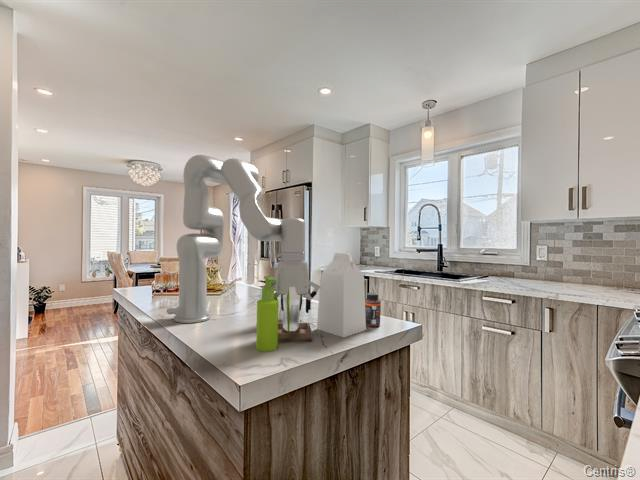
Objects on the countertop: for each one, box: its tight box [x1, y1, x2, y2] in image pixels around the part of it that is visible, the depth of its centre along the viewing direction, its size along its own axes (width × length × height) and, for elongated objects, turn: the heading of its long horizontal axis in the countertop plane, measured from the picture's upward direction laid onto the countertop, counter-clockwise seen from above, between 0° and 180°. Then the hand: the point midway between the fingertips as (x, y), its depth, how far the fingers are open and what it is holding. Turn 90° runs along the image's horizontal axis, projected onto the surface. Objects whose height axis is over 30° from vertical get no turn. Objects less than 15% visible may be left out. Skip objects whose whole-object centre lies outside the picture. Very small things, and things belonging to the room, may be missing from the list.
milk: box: [316, 252, 367, 338], centre depth 108 cm, size 12×12×26 cm
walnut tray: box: [278, 322, 313, 343], centre depth 100 cm, size 12×12×2 cm
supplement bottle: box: [365, 292, 382, 328], centre depth 114 cm, size 6×6×11 cm
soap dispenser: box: [255, 275, 280, 352], centre depth 88 cm, size 6×7×20 cm
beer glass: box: [279, 287, 303, 333], centre depth 100 cm, size 7×7×15 cm
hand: (291, 312), depth 100 cm, fingers open, 9 cm apart
